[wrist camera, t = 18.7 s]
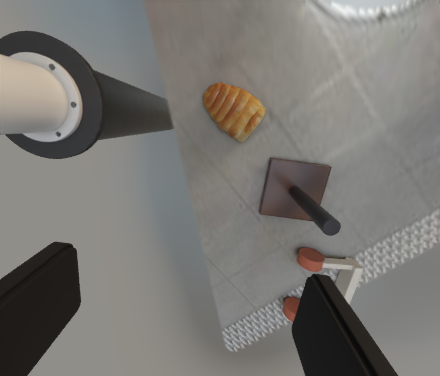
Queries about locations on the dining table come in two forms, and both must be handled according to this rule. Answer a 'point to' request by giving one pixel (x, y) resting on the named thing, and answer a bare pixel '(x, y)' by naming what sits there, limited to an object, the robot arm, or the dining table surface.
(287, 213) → the headphone stand
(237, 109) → the pastry
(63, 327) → the robot arm
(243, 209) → the dining table surface
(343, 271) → the over-ear headset
